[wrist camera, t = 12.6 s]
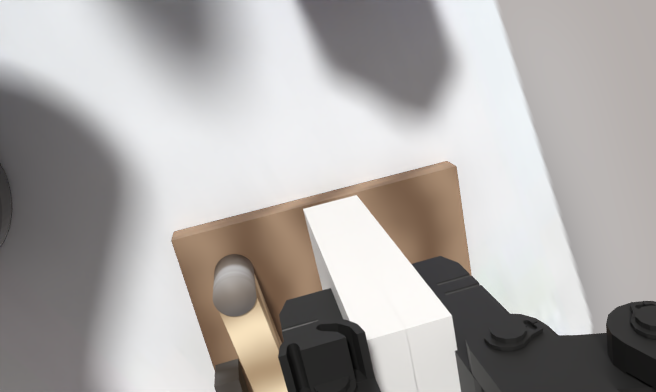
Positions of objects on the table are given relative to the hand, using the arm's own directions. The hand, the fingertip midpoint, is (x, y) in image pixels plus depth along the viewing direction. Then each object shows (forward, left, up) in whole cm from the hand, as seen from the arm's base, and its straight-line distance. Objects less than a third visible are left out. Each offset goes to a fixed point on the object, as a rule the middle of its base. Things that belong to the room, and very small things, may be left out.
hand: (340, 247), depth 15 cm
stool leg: (-5, -18, -27) cm, 33 cm away
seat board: (+2, -18, -29) cm, 35 cm away
